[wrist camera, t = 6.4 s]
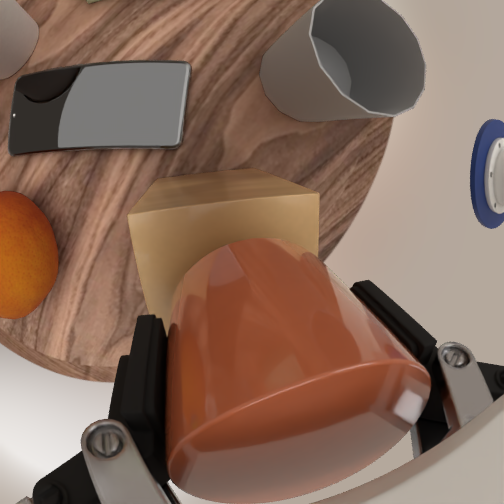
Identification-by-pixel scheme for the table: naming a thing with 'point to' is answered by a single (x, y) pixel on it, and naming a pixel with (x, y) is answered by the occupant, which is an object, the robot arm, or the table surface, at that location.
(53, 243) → the fruit
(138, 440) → the robot arm
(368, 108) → the cup
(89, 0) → the tray
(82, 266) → the table surface
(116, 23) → the table surface
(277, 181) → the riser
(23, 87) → the smartphone
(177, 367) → the orange cylinder puck
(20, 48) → the coffee cup
